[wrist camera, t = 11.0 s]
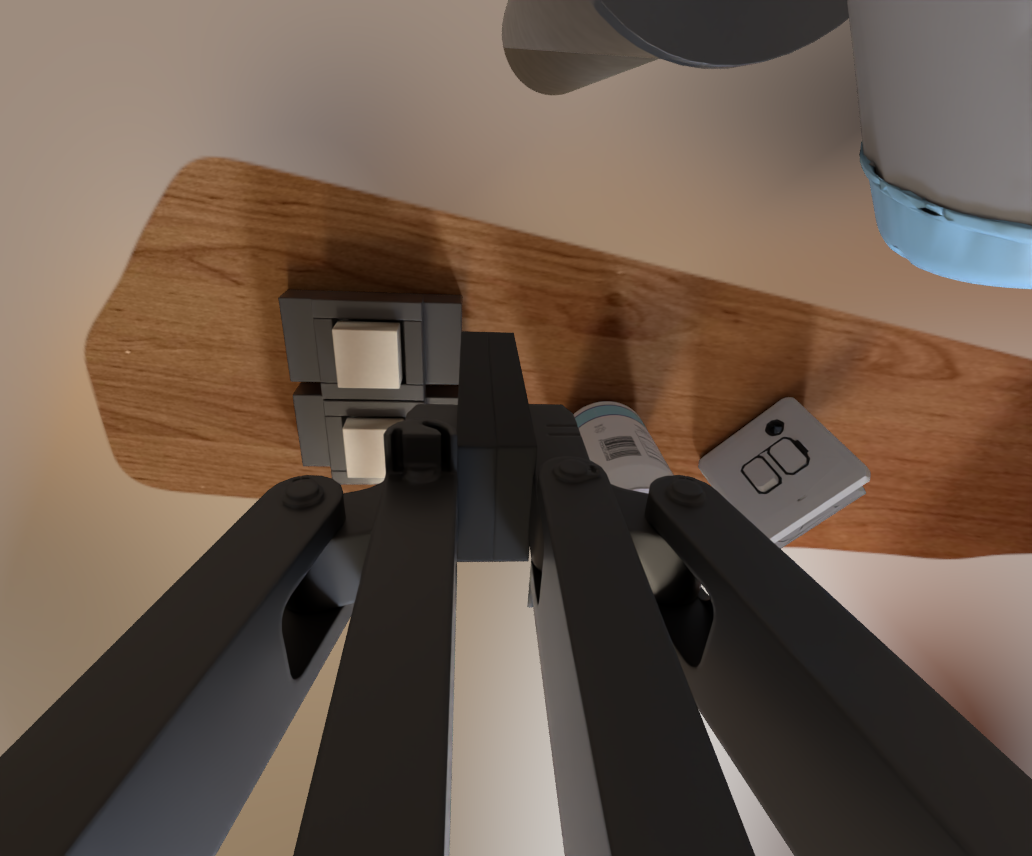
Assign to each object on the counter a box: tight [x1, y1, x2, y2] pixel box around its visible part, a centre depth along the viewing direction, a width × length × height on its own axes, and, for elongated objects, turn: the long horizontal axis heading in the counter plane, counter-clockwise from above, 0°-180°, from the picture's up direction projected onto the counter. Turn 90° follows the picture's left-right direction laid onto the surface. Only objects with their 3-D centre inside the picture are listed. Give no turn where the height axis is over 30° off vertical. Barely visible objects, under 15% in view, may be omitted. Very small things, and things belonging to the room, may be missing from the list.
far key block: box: [293, 383, 459, 484], centre depth 42 cm, size 12×7×4 cm, turn 87°
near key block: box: [278, 289, 462, 400], centre depth 39 cm, size 12×7×4 cm, turn 87°
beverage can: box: [574, 401, 673, 493], centre depth 41 cm, size 7×7×12 cm
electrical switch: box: [698, 397, 870, 549], centre depth 44 cm, size 9×5×9 cm, turn 133°
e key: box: [342, 417, 404, 478], centre depth 40 cm, size 4×4×2 cm
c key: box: [332, 321, 402, 389], centre depth 37 cm, size 4×4×2 cm
